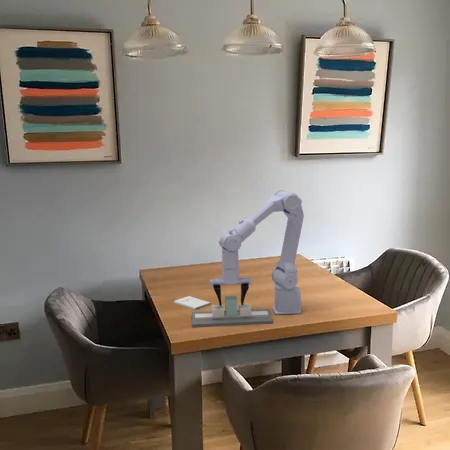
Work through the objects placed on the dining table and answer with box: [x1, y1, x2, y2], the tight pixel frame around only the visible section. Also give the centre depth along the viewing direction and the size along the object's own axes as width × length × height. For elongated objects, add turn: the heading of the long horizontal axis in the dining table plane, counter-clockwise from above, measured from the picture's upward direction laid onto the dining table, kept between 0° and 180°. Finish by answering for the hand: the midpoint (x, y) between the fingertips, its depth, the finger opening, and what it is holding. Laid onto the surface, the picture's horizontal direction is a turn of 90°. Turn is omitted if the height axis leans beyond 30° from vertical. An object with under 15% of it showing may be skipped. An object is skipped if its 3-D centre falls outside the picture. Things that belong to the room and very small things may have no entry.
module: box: [224, 294, 239, 317], centre depth 190 cm, size 4×5×6 cm
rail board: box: [191, 303, 274, 328], centre depth 190 cm, size 28×12×5 cm, turn 94°
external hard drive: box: [173, 295, 212, 311], centre depth 207 cm, size 2×8×12 cm
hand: (231, 304), depth 190 cm, fingers open, 7 cm apart
